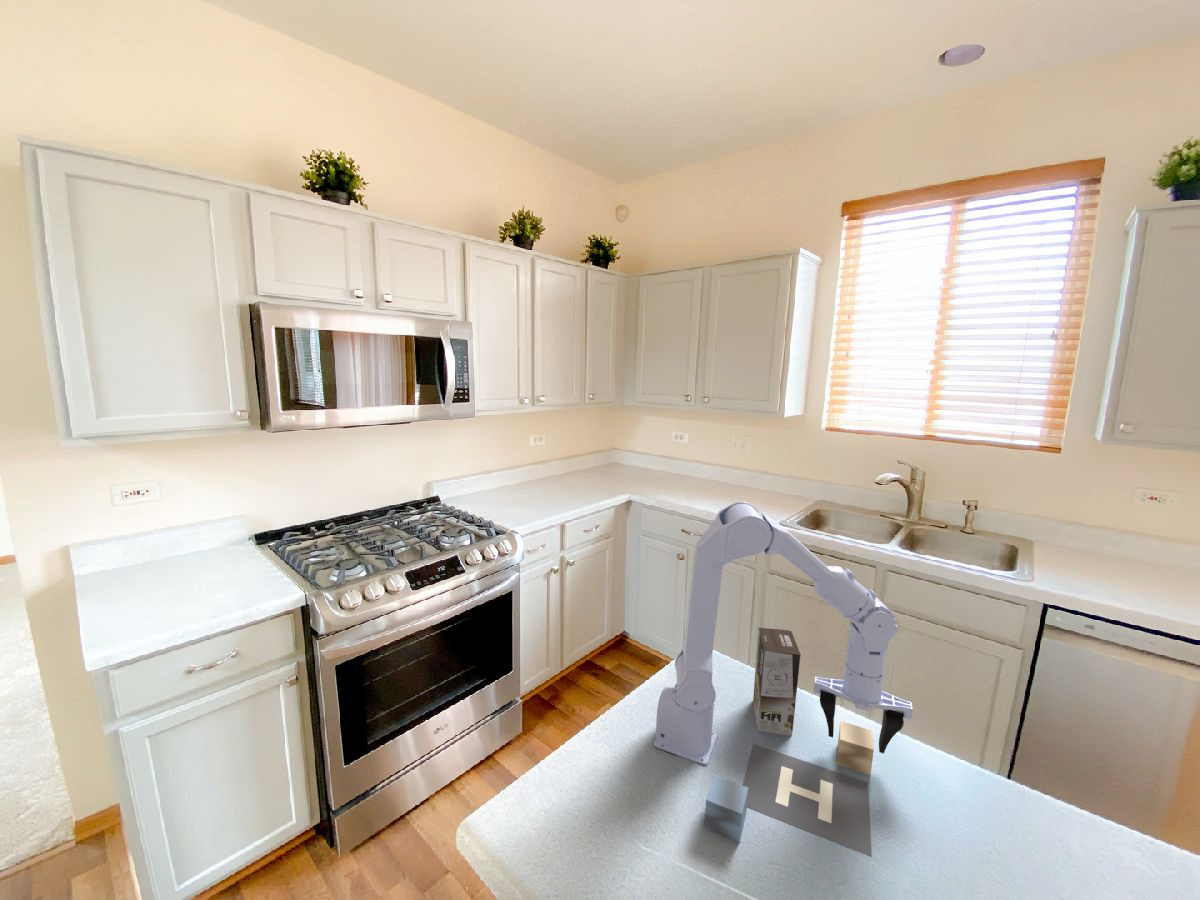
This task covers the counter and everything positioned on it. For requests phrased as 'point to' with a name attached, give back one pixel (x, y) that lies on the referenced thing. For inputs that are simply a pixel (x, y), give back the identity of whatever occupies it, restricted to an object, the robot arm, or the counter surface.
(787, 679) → the coffee box
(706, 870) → the counter surface
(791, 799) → the letter mat
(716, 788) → the slate blue cube
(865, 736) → the oak block
